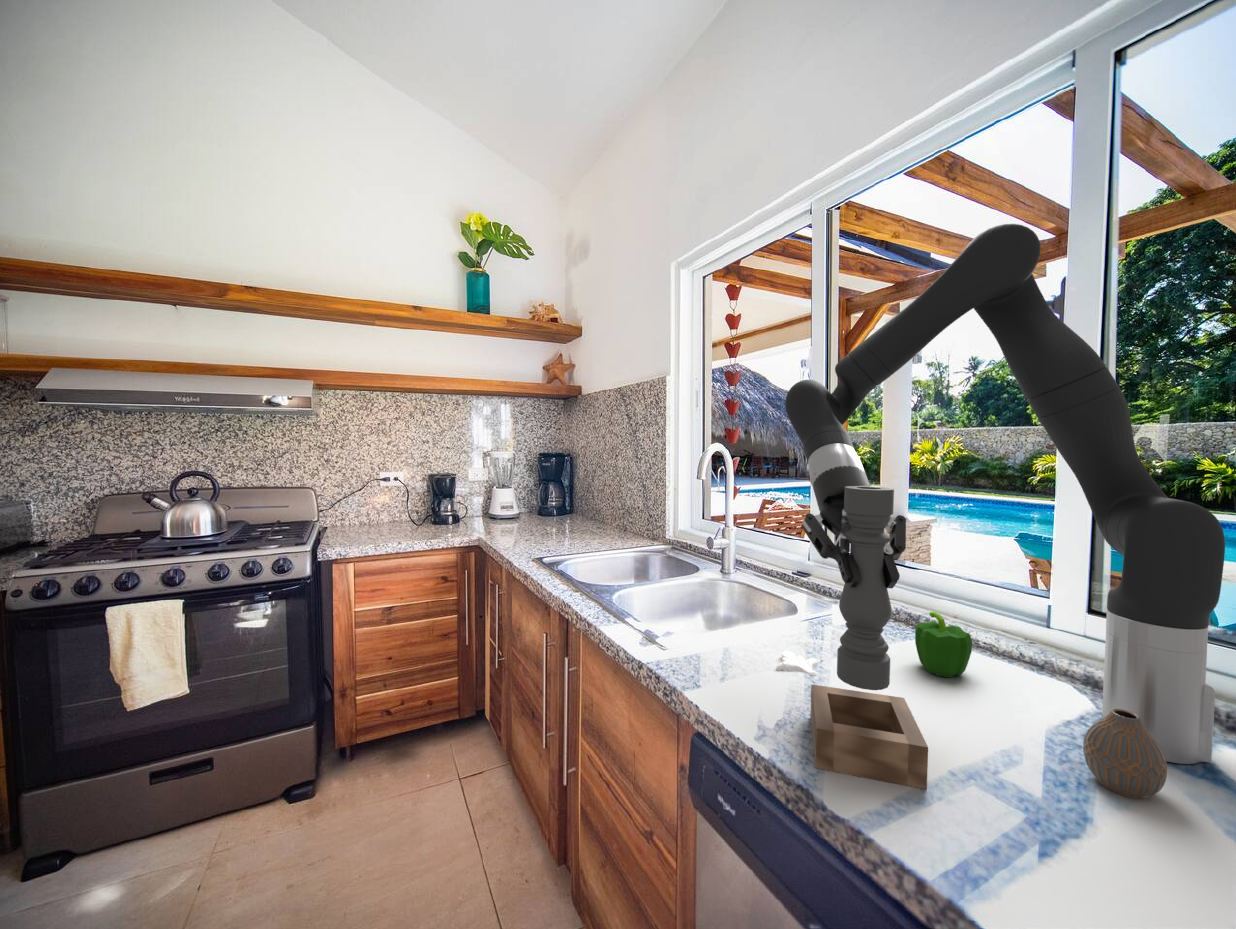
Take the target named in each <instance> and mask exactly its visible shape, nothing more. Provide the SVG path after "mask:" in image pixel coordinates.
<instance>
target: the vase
mask: <svg viewBox="0 0 1236 929" xmlns="http://www.w3.org/2000/svg"><path fill="white" fill-rule="evenodd" d="M1082 742H1083V743H1082V748H1083V749H1082V751H1083V757H1084V761H1085V764H1086V766H1087V767H1088V770H1089V771H1090V772H1091V774H1092V775H1093V777H1095V779H1096V780H1097V781H1098V782H1099V783H1100V784H1101V785H1103V786H1104V787H1105V788H1107V789H1108V790H1110V791H1113V793H1117V794H1119V795H1122V796H1125V797H1128V798H1133V799H1147V798H1150V797H1152V796H1154V795H1156V794H1158V793H1159V792H1160V791H1161V790H1162V789H1163V787H1164V786H1165V784H1166V782H1167V776H1168V763H1167V761H1166V759H1165V756H1164V753H1163V751H1162V749H1161V747H1160V745H1159V744H1158V742H1157V741H1156V740H1155V739H1154V737H1153V736H1152V735H1151V734H1150V733H1149V731H1148V730H1147V729H1146V728H1145V726H1144V725H1143V723H1142V721H1141V719H1140V717H1139V716H1138V715H1136V714H1134V713H1132V712H1129V711H1126V710H1122V709H1112V710H1111V711H1110V712H1109V714H1108V715H1107V716H1105V717H1104V718H1101V719H1099V720H1097V721H1095V722H1093V724H1091V726H1089V727H1088V729H1087V730H1086V733H1085V734H1084V736H1083V741H1082Z"/></svg>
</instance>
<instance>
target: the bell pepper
mask: <svg viewBox="0 0 1236 929" xmlns="http://www.w3.org/2000/svg"><path fill="white" fill-rule="evenodd" d="M928 614H929V616H930V617H931V618H935V619H936V620H937V622H936V621H933V620H931V621H928V622H917V624H916V625H915V632H914V635H915V636H914V639H915V641H914V642H915V647H916V652H917V655H918V659H919V662H920V664H921V665H922V666H923V667H924V668H925V669H926V671H927V672H929V673H930V672H931V674H933V675H935V674H936V676H938V675H939V676H940V677H944V678H945V677H946V678H952V677H955V676H959V675H962V674H963V673H964V672H965V671H966V670H967V666H968V664H969V661H970V658H971V654H972V651H973V638H972V637H971V635H970V633H969V632H966V631H964V629H963V628H961V626H958V625H948V626H947V625H946V621H945V619H944V618H943V616H942V614H939V612H936V611H930V612H929V613H928Z"/></svg>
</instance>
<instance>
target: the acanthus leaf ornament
mask: <svg viewBox="0 0 1236 929" xmlns="http://www.w3.org/2000/svg"><path fill="white" fill-rule="evenodd" d="M819 663H821V660H820V659H817V658H815V657H811V658H807V659H806V660H805V658H804V657H803V656H802V655H800V654H798V655H796V654H795V653H794V652H792V651H789V650H782V654H781V662H779V663H778V664H777V666H776V671H778V672H780V671H784V672H786V671H788V672H802V673H805V674H808V675H809V676H812V677H818V676H819V674H818V672H816V671H815V670H813V669H814V668H816V667H818V665H819Z"/></svg>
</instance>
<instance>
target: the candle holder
mask: <svg viewBox="0 0 1236 929" xmlns="http://www.w3.org/2000/svg"><path fill="white" fill-rule="evenodd" d="M894 498H895V488H891V487H886V486H885V487H883V486H871V485H870V486H846V487H845V491H844V511H845V512H846V518H847V519H848V521H849V524H850V525H851V529H850V530H849V531H847V532H846V533H845V537H846V539H848V540H849V543H850V552H849V555H853V558H854V562H855V565H856V568H857V571H858V574H859V578H860V581H859V583H858V585H857V586H856V587H849V586H848V583H845V582H844V585H843V588H842V592H841V594H840V595H841V596H840V598H839V601H838V604H839V605H838V607H839V611H840V614H841V615H842V616H841V617H842V618H843V619H844V621H845V626H846V628H847V629H846V630H845V631H844V633H843V634H842V635H841V636H840V637H839V642H840V646H839V647H838V648H837V655H836V656H837V657H836V658H837V659H836V675H837V678H838V679H839V680H841V681H842V682H843V683H845V684H847V685H849V686H852V687H855V688H859V689H862V690H866V691H867V690H869V691H882V690H885V689H887V688H889V685H890V681H891V680H890V678H891V658H890V655H889V654H888V651H889V648H890V647H889V644H888V643H887V642H886V640H885V639H884V637H883V636H882V633H883V632H884V627H886V625H887V624H888V623H889V621H890V620H891V617H892V613H893V611H892V605H891V604H892V603H891V599H890V595H889V589H888V588H886V582H885V576H884V572H883V557H884V546H886V543H888V544H889V541H890V534H887V532H886V531H885V530H886V527H887V524H888V522H889V521H890V520H891V518H890V517H892V515H894V502H895V501H894V500H895V499H894Z"/></svg>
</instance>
